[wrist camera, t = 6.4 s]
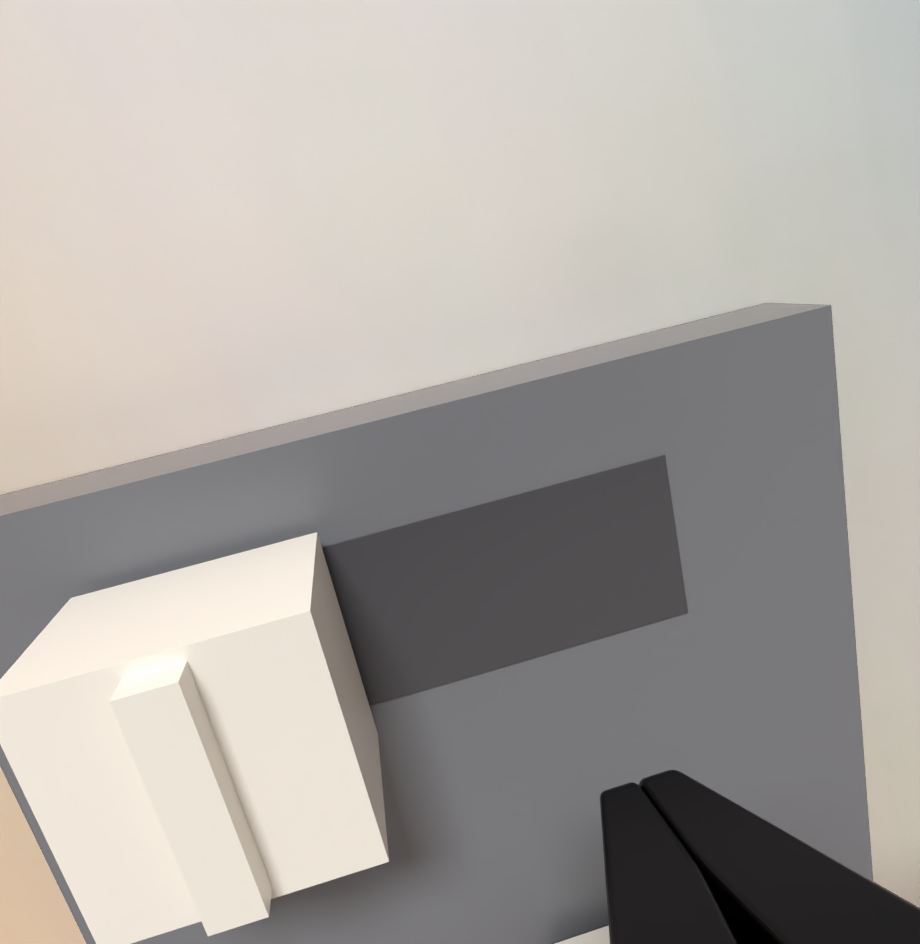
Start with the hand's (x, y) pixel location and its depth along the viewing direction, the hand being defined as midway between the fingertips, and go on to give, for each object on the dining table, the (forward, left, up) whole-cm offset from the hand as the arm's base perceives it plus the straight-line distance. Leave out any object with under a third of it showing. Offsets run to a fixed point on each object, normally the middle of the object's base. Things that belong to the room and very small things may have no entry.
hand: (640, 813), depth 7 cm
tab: (+5, 0, -6) cm, 8 cm away
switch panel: (+1, +10, -8) cm, 13 cm away
